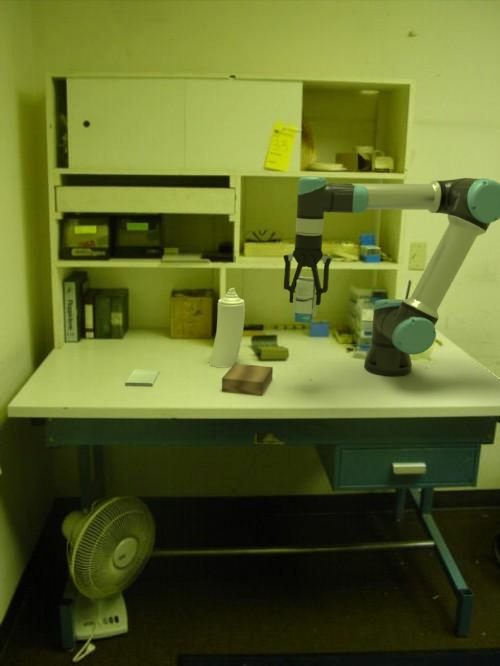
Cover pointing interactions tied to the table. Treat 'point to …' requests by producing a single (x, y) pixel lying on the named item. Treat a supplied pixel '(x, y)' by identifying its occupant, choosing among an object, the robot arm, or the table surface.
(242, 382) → the wooden block
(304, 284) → the ink box
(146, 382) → the hard drive
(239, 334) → the spray can
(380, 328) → the robot arm
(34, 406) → the table surface
